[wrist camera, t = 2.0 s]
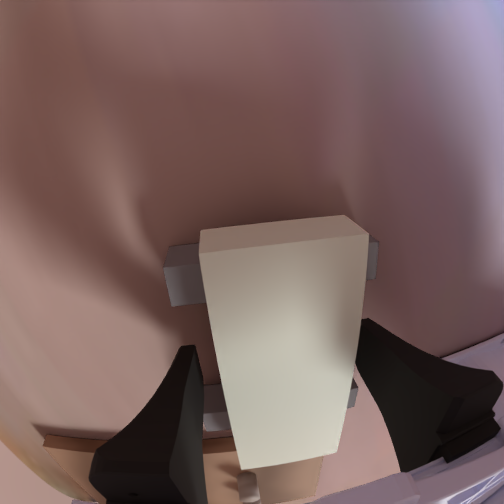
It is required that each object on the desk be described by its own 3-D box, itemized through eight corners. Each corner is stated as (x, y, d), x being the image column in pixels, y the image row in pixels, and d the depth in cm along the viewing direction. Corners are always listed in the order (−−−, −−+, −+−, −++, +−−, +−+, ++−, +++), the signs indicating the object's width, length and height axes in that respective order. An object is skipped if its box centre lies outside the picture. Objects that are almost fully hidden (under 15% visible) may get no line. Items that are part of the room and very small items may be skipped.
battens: (357, 225, 13) (378, 241, 12) (342, 382, 17) (354, 406, 15) (169, 246, 13) (163, 267, 11) (205, 404, 17) (206, 431, 15)
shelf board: (200, 229, 11) (198, 253, 9) (344, 214, 11) (369, 233, 9) (237, 440, 15) (241, 469, 13) (326, 425, 16) (336, 452, 14)
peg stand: (322, 421, 19) (335, 459, 16) (312, 485, 23) (319, 513, 20) (46, 434, 17) (35, 466, 14) (103, 496, 21) (99, 522, 18)
